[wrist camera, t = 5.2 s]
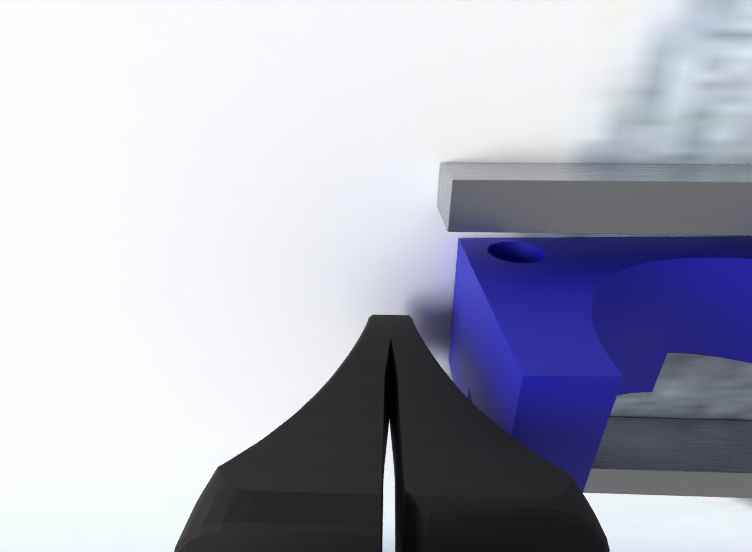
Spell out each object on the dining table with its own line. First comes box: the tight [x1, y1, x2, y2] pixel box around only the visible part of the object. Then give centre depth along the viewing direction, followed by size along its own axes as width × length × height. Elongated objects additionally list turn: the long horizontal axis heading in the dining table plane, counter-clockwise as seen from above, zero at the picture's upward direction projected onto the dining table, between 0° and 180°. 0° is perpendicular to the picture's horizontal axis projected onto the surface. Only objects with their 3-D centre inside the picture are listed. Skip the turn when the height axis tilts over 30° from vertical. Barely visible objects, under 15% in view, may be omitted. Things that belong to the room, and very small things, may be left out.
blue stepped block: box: [449, 236, 752, 493], centre depth 9 cm, size 12×4×6 cm, turn 91°
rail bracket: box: [437, 163, 752, 498], centre depth 11 cm, size 10×15×2 cm
